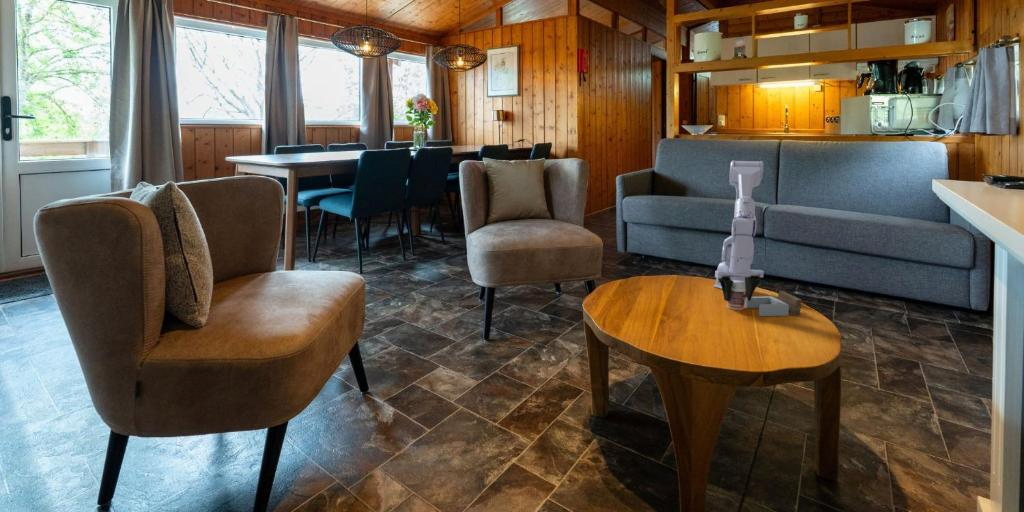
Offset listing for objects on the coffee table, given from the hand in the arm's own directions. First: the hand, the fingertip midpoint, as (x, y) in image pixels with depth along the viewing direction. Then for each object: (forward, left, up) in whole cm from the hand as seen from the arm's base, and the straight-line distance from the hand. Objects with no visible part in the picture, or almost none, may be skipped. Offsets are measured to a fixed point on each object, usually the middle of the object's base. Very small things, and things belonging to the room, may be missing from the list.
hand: (736, 300), depth 164 cm
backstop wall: (+10, +11, -3) cm, 15 cm away
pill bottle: (0, 0, -3) cm, 3 cm away
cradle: (+6, +5, -3) cm, 9 cm away
